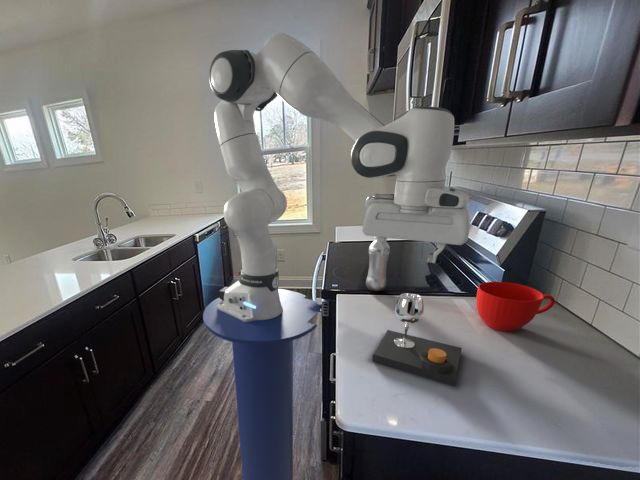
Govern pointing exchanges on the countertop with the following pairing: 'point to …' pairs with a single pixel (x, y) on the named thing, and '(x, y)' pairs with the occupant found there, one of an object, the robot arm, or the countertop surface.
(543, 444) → the countertop surface
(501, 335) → the countertop surface
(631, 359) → the countertop surface
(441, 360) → the button
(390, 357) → the dark grey button box
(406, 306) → the wineglass
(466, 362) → the countertop surface
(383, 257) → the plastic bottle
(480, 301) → the ceramic cup
